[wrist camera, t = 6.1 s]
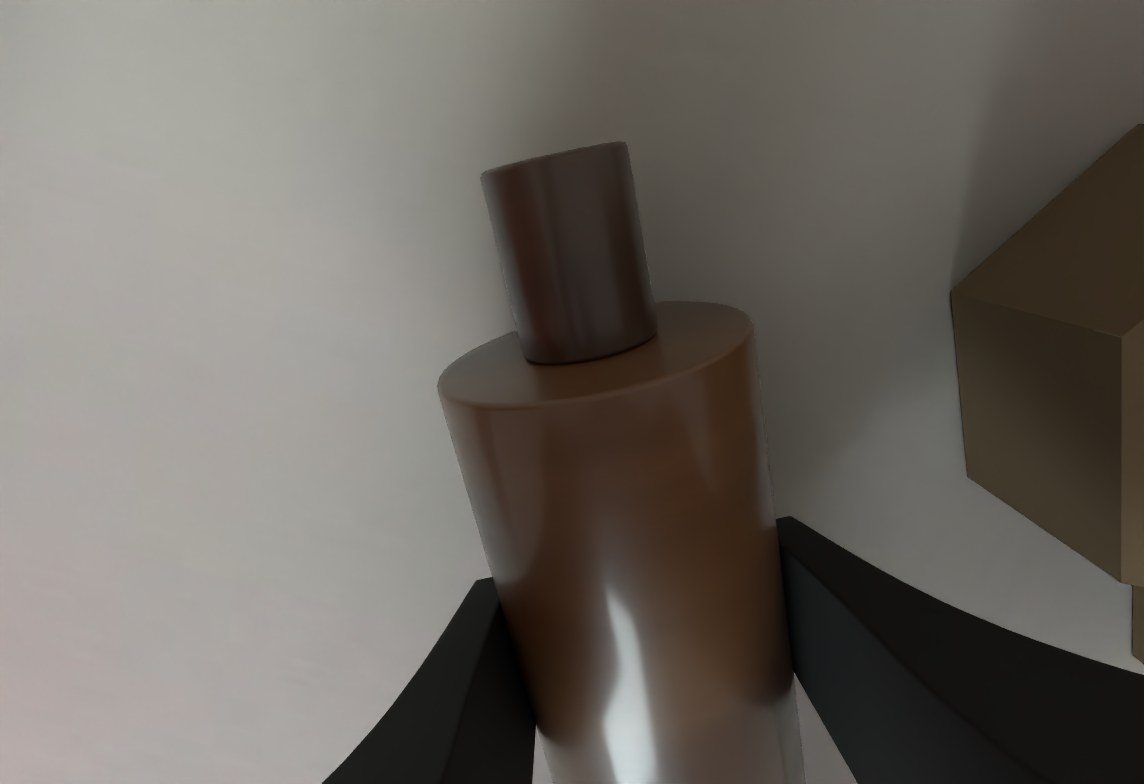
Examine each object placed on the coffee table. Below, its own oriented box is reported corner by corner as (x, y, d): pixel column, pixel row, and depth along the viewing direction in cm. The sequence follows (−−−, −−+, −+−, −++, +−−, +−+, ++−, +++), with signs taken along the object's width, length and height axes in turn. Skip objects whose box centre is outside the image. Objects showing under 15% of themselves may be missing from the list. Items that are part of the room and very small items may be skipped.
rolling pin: (775, 787, 15) (867, 1030, 11) (592, 822, 15) (610, 1076, 11) (685, 132, 10) (788, 95, 6) (418, 191, 10) (327, 197, 6)
